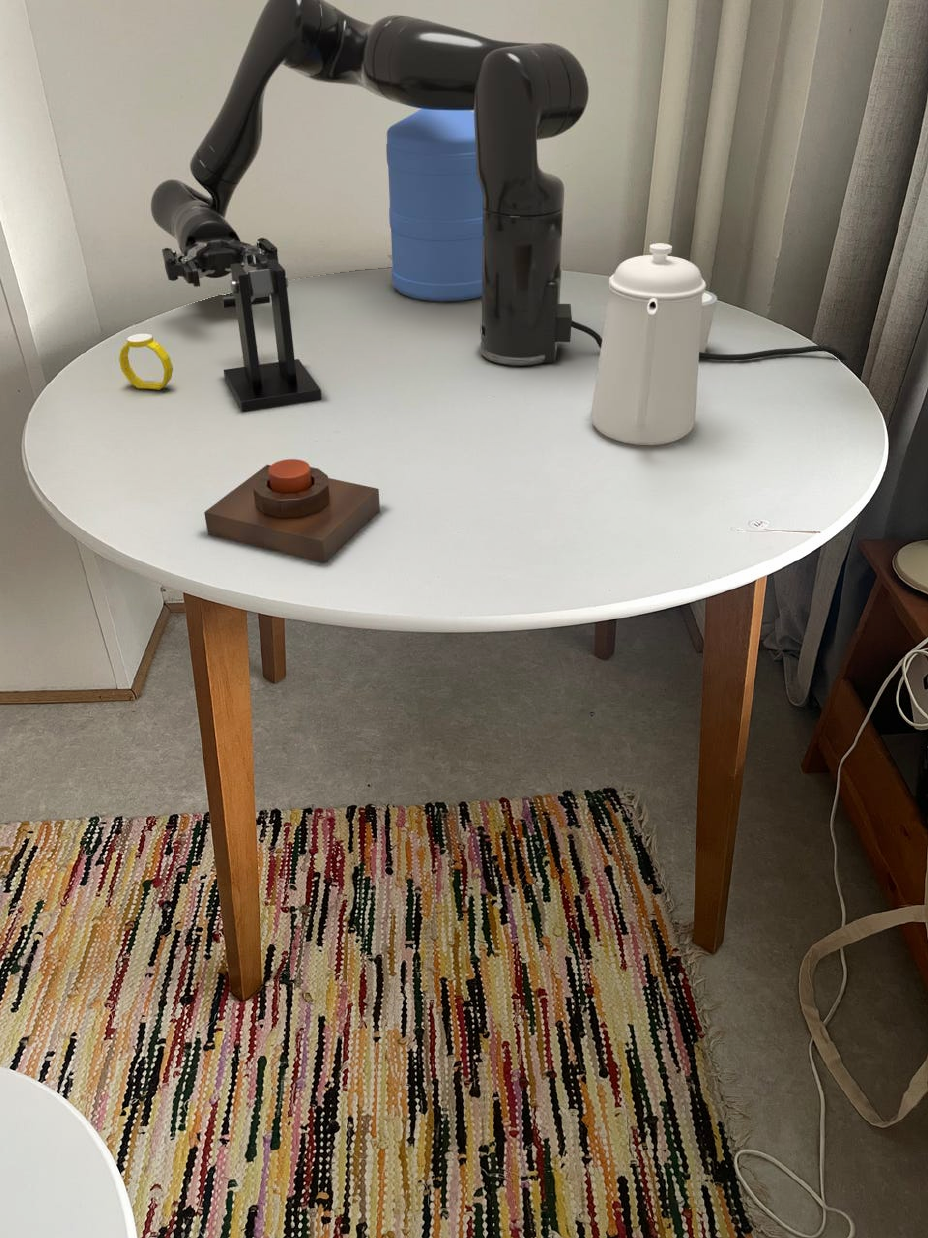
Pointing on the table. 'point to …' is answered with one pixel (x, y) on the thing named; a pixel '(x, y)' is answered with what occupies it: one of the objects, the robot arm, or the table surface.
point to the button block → (294, 515)
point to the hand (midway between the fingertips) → (231, 274)
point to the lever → (254, 289)
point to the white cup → (706, 318)
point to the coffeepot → (650, 350)
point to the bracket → (288, 375)
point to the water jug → (435, 206)
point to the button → (290, 476)
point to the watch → (148, 341)
